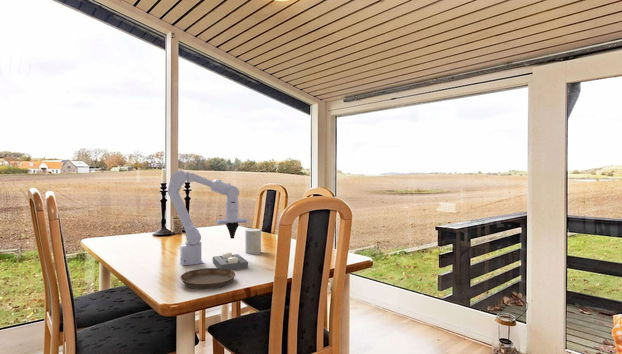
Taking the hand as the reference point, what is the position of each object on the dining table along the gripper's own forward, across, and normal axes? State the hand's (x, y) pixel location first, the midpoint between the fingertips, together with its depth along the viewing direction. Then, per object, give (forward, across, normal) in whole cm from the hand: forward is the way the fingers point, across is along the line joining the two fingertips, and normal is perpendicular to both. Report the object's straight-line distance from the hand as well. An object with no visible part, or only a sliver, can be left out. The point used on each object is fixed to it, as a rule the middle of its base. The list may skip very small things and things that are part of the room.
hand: (232, 238), depth 182 cm
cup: (+11, +14, +10) cm, 20 cm away
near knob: (+10, -4, -16) cm, 19 cm away
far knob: (+10, -4, -6) cm, 12 cm away
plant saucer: (+11, -18, -32) cm, 38 cm away
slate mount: (+10, -4, -11) cm, 16 cm away
